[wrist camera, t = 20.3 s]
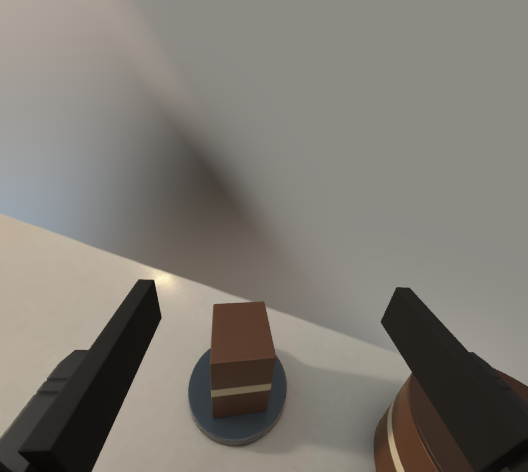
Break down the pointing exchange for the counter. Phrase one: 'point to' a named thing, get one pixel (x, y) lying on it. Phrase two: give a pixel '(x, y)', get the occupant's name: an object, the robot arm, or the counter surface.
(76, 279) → the counter surface
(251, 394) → the cake slice
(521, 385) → the cake
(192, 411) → the plate
